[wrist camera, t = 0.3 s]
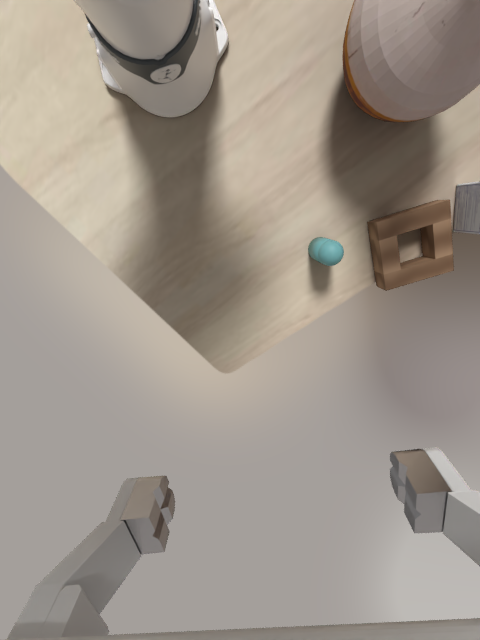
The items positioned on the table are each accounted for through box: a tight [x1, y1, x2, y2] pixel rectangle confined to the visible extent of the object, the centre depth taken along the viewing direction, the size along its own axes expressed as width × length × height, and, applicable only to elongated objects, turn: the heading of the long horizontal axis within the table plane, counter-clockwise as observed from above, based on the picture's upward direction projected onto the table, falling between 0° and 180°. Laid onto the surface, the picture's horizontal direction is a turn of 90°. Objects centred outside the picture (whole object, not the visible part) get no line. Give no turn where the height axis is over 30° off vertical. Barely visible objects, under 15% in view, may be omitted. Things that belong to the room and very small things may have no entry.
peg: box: [308, 237, 344, 266], centre depth 49 cm, size 4×4×8 cm
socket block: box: [367, 200, 454, 291], centre depth 52 cm, size 12×12×4 cm
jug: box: [343, 0, 480, 122], centre depth 30 cm, size 20×18×30 cm
